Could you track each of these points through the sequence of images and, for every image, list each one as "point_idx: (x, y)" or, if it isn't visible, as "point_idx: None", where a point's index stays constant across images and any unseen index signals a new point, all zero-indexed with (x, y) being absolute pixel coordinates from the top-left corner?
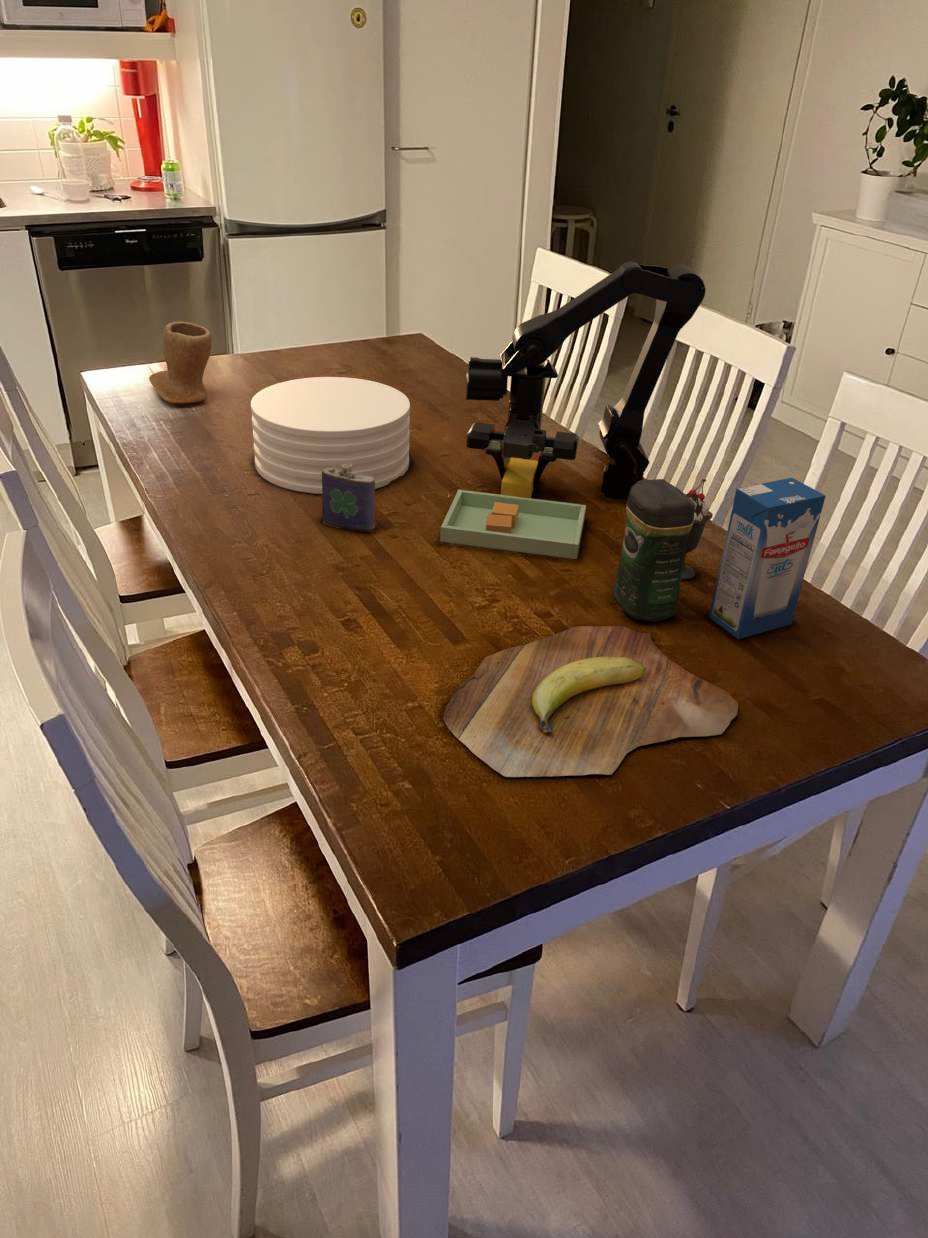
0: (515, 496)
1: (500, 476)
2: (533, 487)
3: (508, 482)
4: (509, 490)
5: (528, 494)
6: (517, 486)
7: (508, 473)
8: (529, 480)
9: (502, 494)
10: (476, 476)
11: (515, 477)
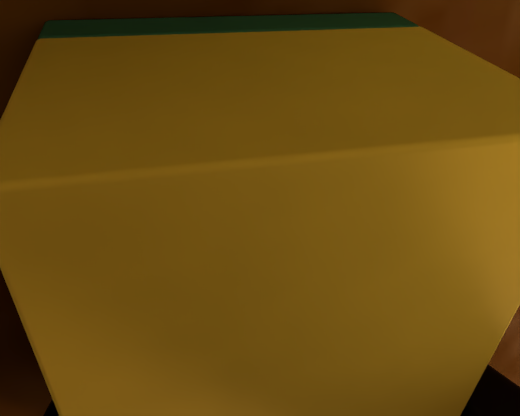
0: (256, 50)
1: None
2: None
3: (499, 138)
4: (385, 73)
5: (40, 77)
6: (288, 126)
7: (438, 395)
8: (95, 362)
9: (438, 41)
10: (500, 351)
11: (352, 350)
